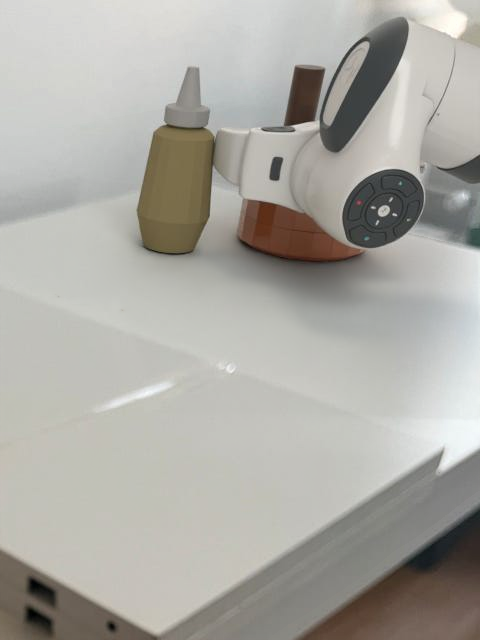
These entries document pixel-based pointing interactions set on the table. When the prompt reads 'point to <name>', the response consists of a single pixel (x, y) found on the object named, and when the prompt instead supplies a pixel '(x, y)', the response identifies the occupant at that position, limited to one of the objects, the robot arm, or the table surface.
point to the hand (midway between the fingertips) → (293, 139)
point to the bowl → (288, 233)
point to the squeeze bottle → (178, 174)
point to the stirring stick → (304, 94)
